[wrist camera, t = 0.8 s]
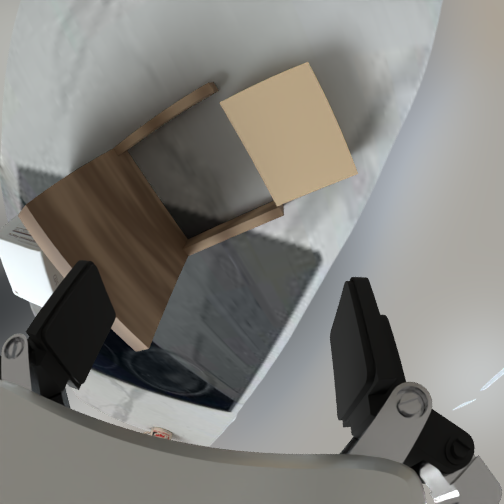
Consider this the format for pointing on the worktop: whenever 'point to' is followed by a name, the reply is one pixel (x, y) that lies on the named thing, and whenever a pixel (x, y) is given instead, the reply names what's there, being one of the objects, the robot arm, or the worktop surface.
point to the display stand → (126, 230)
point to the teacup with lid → (160, 433)
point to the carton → (290, 134)
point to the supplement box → (27, 264)
